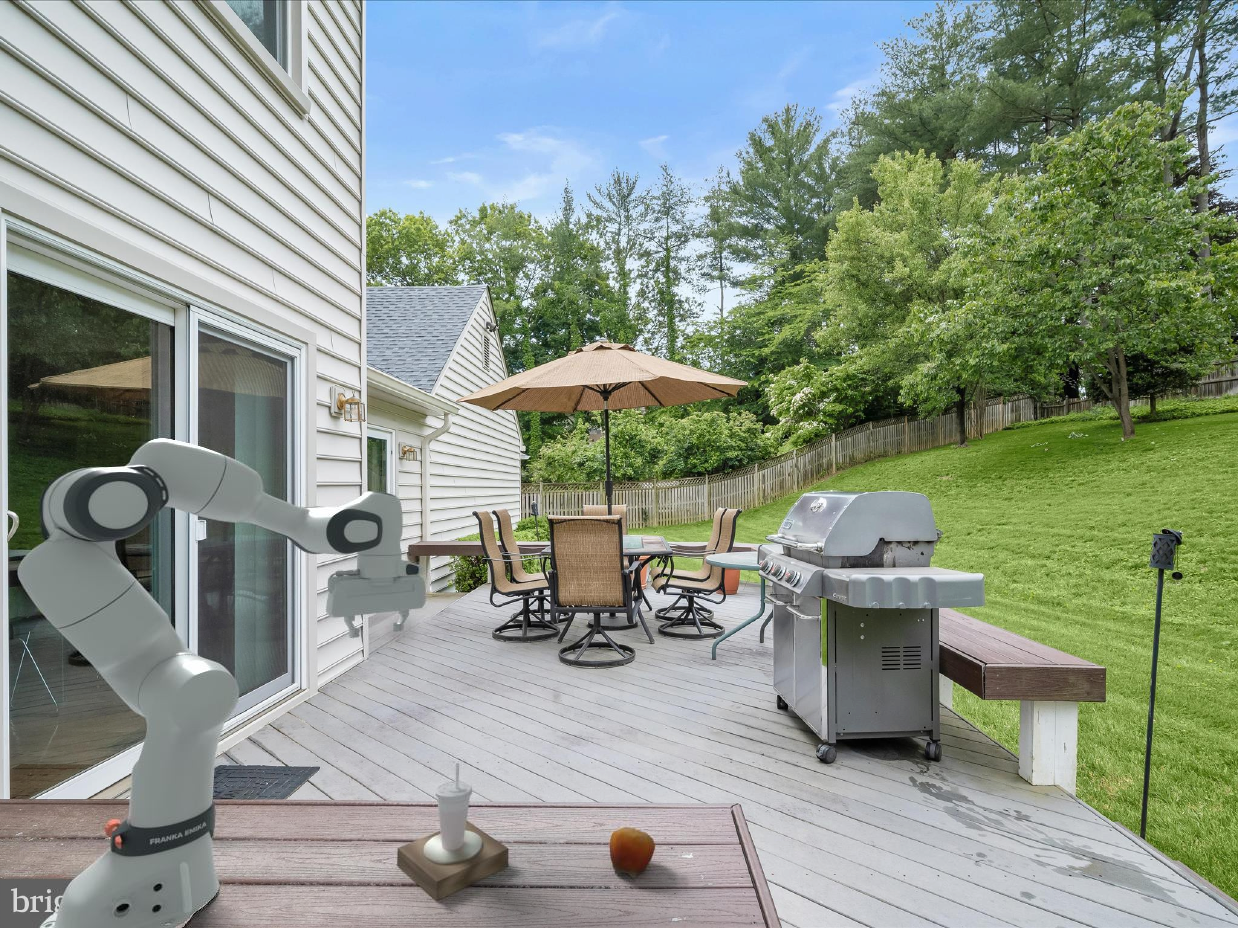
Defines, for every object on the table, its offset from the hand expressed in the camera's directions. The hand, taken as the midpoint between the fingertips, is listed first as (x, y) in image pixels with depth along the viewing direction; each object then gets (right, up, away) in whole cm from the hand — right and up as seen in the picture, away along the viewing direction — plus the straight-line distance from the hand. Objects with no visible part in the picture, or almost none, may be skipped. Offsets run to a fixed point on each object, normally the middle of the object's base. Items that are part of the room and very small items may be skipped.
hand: (376, 634), depth 130 cm
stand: (+22, -36, -20) cm, 46 cm away
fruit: (+53, -36, -21) cm, 68 cm away
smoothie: (+21, -32, -20) cm, 44 cm away
